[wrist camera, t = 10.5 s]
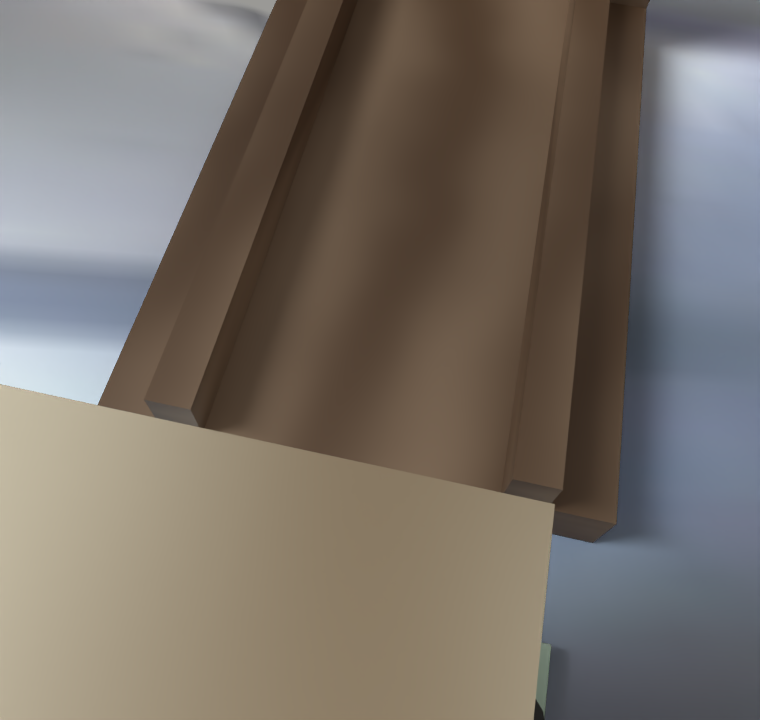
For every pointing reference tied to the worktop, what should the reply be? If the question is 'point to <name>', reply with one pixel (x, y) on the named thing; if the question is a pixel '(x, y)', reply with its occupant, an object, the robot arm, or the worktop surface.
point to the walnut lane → (414, 248)
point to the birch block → (252, 578)
